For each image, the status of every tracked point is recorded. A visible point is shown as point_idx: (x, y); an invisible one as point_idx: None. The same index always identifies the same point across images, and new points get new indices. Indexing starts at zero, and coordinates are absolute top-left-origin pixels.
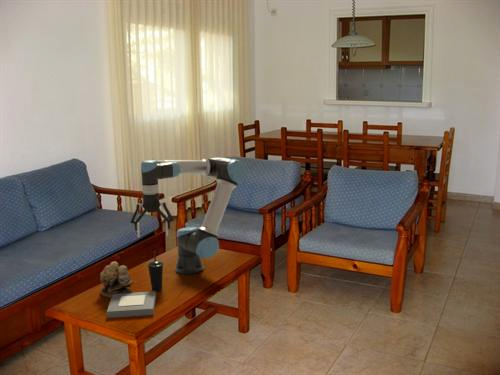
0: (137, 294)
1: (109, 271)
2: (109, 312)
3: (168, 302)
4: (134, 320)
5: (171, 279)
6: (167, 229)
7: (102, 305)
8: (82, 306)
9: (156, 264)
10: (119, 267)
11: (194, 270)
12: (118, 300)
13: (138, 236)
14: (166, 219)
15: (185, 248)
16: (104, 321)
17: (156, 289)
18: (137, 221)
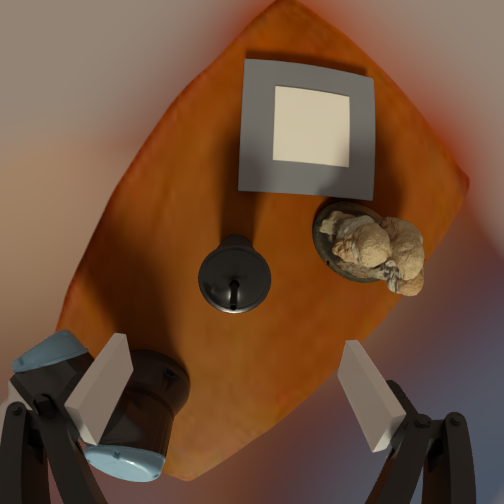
0: (299, 175)
1: (414, 232)
2: (365, 77)
3: (198, 141)
4: (294, 49)
5: (194, 325)
6: (93, 365)
7: (387, 168)
8: (427, 179)
9: (227, 257)
10: (387, 246)
11: (132, 355)
12: (353, 143)
13: (355, 345)
14: (54, 436)
15: (132, 403)
16: (368, 69)
17: (236, 235)
18: (412, 440)
